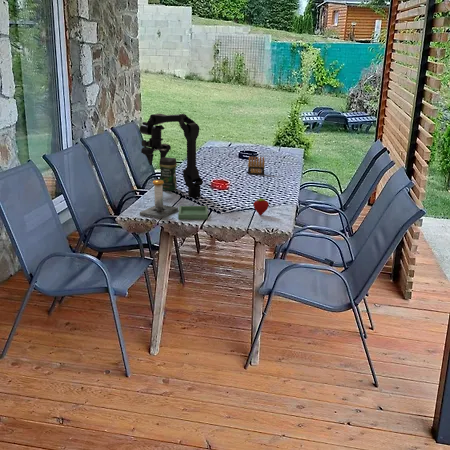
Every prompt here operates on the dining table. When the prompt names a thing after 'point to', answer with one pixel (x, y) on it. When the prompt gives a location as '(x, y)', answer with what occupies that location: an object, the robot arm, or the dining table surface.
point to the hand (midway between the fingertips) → (156, 163)
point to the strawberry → (261, 206)
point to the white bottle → (158, 195)
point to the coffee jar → (168, 173)
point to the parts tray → (193, 212)
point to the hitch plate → (166, 211)
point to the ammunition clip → (256, 166)
